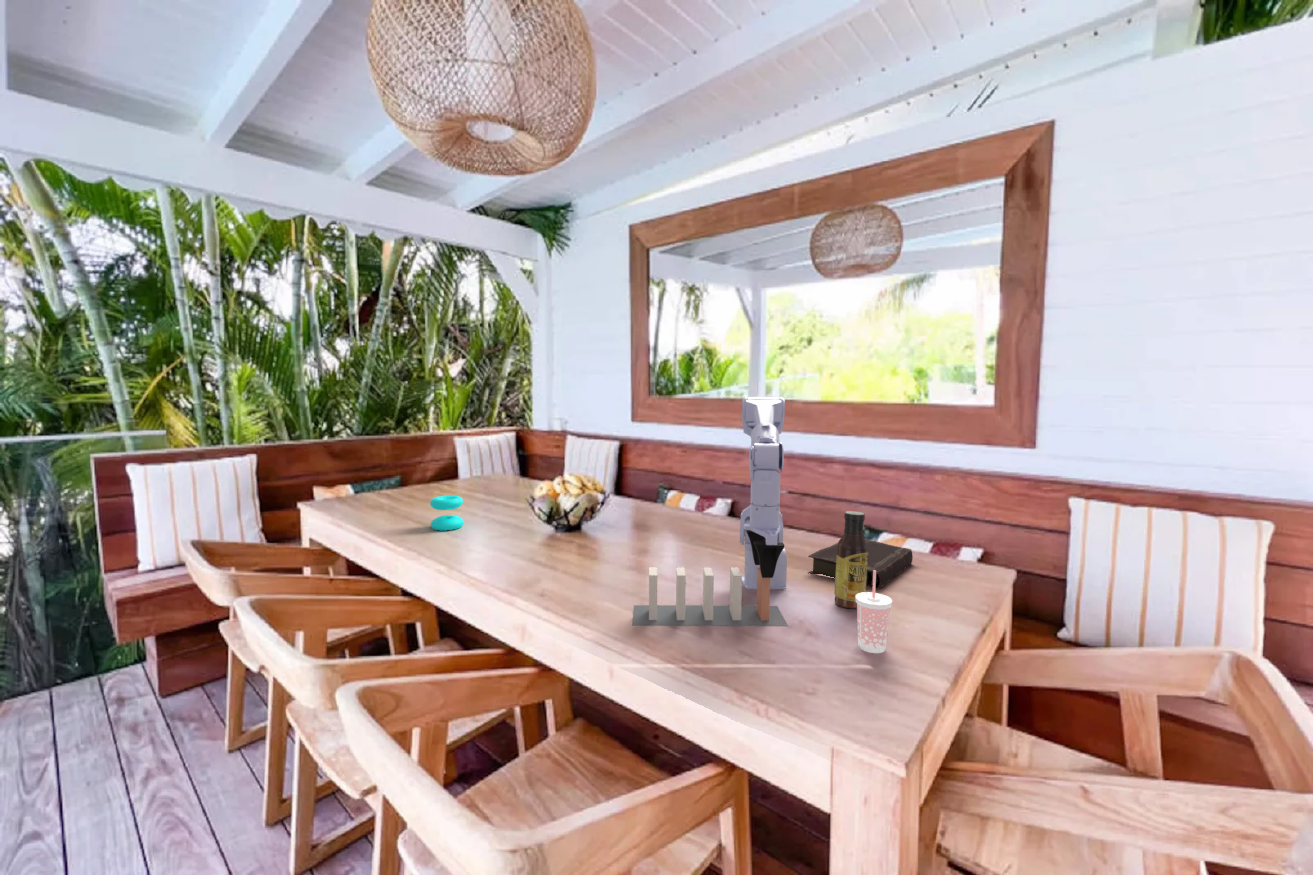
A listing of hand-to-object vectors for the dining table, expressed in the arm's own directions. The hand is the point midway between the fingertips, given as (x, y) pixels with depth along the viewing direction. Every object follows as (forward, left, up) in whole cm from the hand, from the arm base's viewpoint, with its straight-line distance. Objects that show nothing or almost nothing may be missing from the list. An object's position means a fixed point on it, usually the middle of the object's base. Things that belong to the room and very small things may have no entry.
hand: (763, 570), depth 113 cm
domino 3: (+11, 0, -9) cm, 14 cm away
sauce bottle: (-20, -7, -10) cm, 23 cm away
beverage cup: (-17, +13, -10) cm, 24 cm away
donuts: (+89, -71, -10) cm, 114 cm away
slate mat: (+11, 0, -10) cm, 15 cm away
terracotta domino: (0, 0, -9) cm, 9 cm away
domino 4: (+6, 0, -9) cm, 11 cm away
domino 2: (+17, 0, -9) cm, 19 cm away
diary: (-31, -31, -10) cm, 45 cm away
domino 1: (+22, 0, -9) cm, 24 cm away
